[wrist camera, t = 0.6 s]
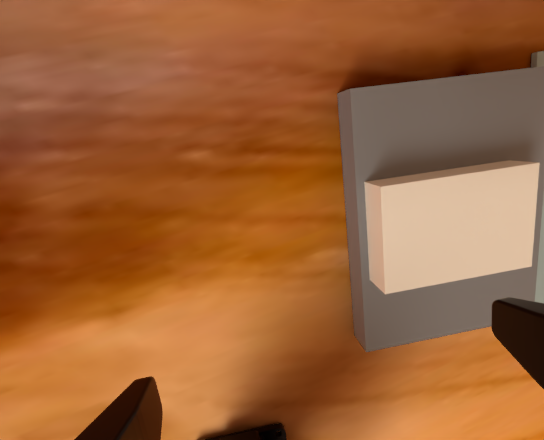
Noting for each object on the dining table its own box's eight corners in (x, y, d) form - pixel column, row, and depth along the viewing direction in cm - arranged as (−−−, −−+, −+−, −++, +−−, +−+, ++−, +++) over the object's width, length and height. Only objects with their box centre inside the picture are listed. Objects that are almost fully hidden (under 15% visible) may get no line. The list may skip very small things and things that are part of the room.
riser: (509, 303, 25) (533, 317, 23) (354, 334, 24) (366, 352, 22) (523, 71, 21) (553, 65, 19) (337, 93, 20) (350, 88, 18)
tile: (509, 160, 20) (539, 162, 18) (503, 254, 22) (531, 266, 20) (364, 181, 19) (380, 186, 17) (369, 279, 21) (385, 294, 19)
